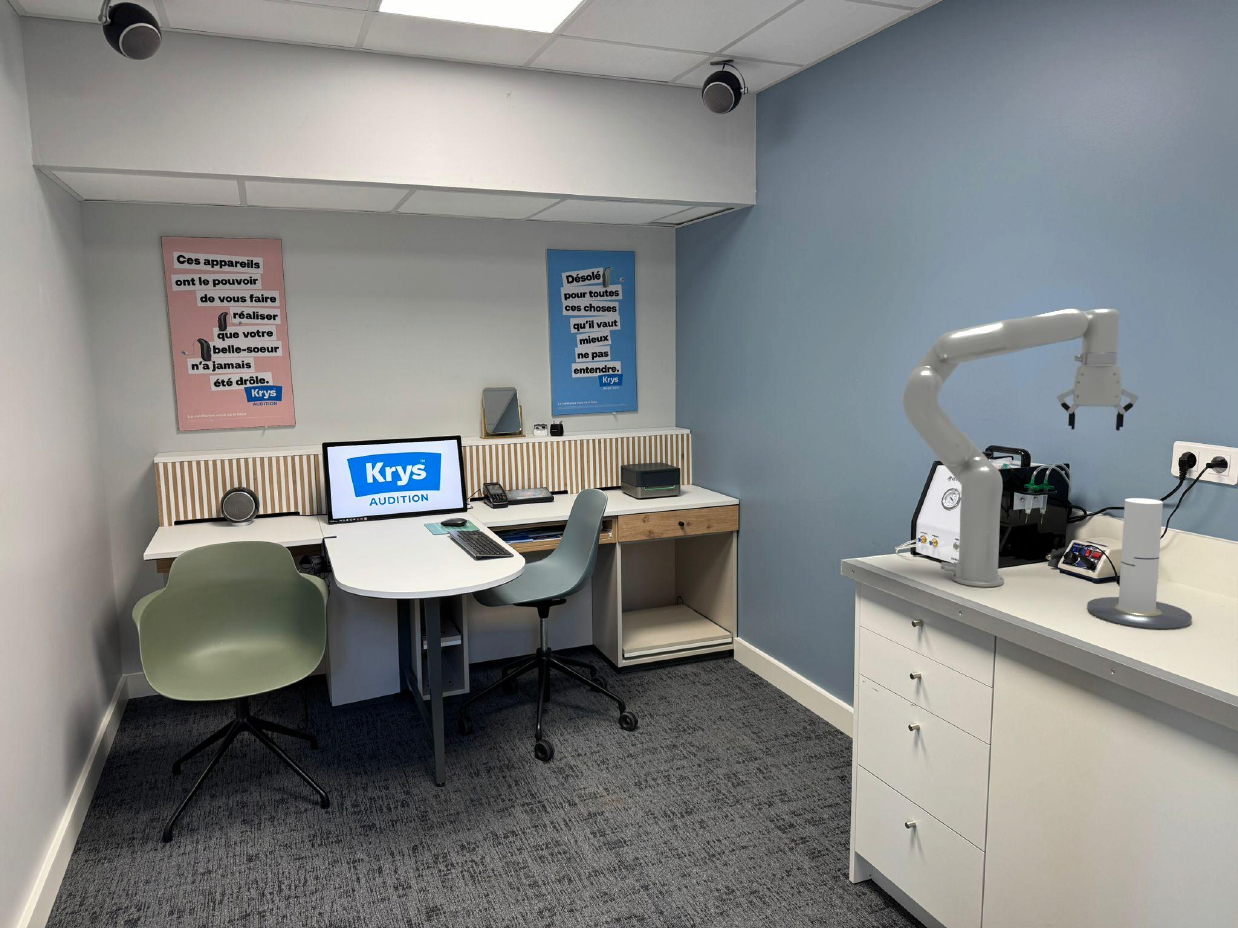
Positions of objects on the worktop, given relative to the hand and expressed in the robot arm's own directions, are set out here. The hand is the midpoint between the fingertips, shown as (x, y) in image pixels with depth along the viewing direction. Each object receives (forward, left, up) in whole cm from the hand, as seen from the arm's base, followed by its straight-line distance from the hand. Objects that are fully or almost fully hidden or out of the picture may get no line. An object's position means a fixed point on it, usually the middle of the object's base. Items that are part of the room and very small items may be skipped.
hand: (1095, 429), depth 202 cm
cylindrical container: (+10, -20, -39) cm, 45 cm away
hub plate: (+10, -20, -40) cm, 46 cm away
